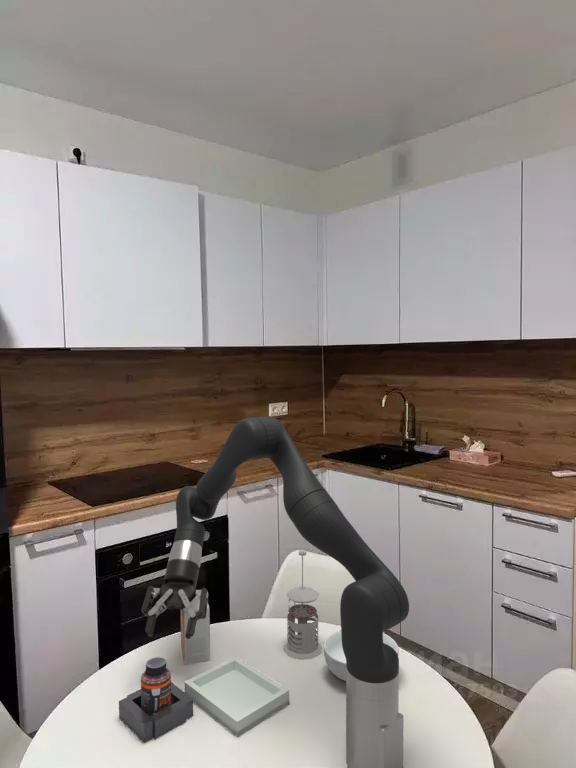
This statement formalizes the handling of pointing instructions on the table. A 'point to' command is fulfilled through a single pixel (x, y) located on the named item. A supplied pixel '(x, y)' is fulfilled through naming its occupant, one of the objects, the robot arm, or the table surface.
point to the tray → (237, 695)
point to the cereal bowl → (336, 653)
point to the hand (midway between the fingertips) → (168, 636)
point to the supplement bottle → (155, 686)
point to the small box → (195, 636)
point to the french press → (302, 623)
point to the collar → (159, 721)
